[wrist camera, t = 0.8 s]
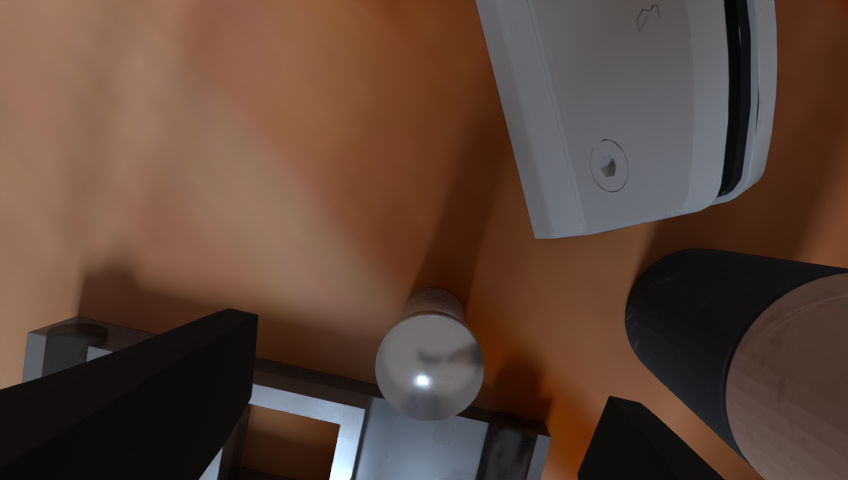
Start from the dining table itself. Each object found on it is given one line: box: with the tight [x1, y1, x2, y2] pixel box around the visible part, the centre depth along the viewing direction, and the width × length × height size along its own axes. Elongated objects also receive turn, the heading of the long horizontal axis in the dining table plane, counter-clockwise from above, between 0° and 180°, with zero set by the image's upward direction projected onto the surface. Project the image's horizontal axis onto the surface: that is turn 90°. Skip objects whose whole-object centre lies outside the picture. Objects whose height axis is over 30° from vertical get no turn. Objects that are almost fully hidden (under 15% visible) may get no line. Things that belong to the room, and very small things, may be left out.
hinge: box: [476, 0, 777, 239], centre depth 18 cm, size 17×5×10 cm, turn 15°
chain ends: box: [22, 317, 551, 480], centre depth 22 cm, size 8×26×3 cm, turn 78°
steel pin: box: [375, 287, 484, 421], centre depth 20 cm, size 4×4×7 cm
